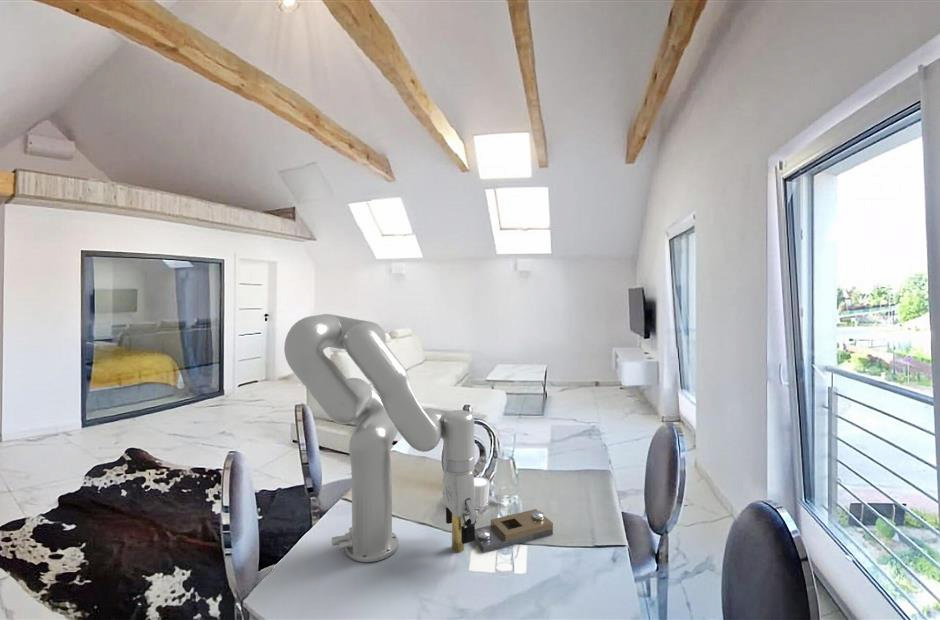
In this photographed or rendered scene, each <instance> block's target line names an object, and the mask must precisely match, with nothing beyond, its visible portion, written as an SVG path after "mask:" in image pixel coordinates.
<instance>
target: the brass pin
mask: <svg viewBox="0 0 940 620" xmlns="http://www.w3.org/2000/svg"><path fill="white" fill-rule="evenodd" d="M463 513H465V511H464V512H463ZM462 526H463V524H462V520H461V516H459V517H456V516H454V515H453V513H452V523H451V550H452V552H454V553H457V554H458V553H462V552H463V551H464V550H465V544H463V543H462V541H461V527H462Z"/></svg>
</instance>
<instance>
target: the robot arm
mask: <svg viewBox="0 0 940 620" xmlns="http://www.w3.org/2000/svg"><path fill="white" fill-rule="evenodd" d="M386 340H387V337H386V332H385V330H384V329H383V328H382V327H381V325H379V324H378V323H376V322H373V321H368V320H365V319H364V320H363V319H358V318H357V319H356V318H352V317H346V316H341V315H337V314H331V313H330V314H329V313H323V314H322V313H321V314H317V315H310V316H306V317H303V318H301V319H299V320H297V321H296V322H294V324H292V325H291V327H290V329H289V330H288V332H287V333H286V337H285V341H284V346H283V347H284V355H285V360H286V362H287V364H288V366H289V368H290V370H291V371H292V372H293V374H295V376H296V377H297V378H298V380H299V381H300V382H301V384H303V385H304V386H305V388H306V389H307V391H309V393H310V394H311V396H312V397H313V399H315V401H316V402H317V404H318V405H319V406H320V407H321V408H322V409H323V411H324V412H325V414H326V415H327V416H328V417H329V418H330V419H331V420H332V422H334V423H336V424H338V425H348V424H351V423H354V425H355V426H356V427H355V428H354V429H353V432H352V433H351V435H350V439H349V443H348V453H349V454H348V455H349V461H350V468H351V469H350V470H351V527H349V528H348V532H345V533H344V534H343V535H336V536H332V537H331V546H332V547H335V546H338V550H343V549H345V553H346V556H347V557H348V558H350V559H352V560H353V561H357V562H361V563H373V562H378V561H382V560H384V559H387V558H389V557H390V556H392V555H393V554H394V553H396V551H397V549H398V546H399V538H398V535H396V534H395V533H394V532H392V531H393V482H392V480H393V477H392V476H393V472H392V470H393V469H392V460H391V450H392V445H393V442H394V440H395V439H396V437H397V434H398V432H399V434H400V435H401V436H402V437H403V439H404V441H406V443H408V445H409V446H410V447H411V448H413V449H414V450H416V451H418V452H423V453H426V452H431V451H432V450H434V449H435V448H436V447H438V445H439V443H440V441H441V439H442V440H443V441H442V443H443V445H442V446H443V448H442V449H443V476H442V501H443V504H444V505H445V523H446V524H447V525H449V524H452V513H453V515H454V516H456V517H459V516H461V520H462V524H463V526H462V527H461V541H462V543H463V544H464V545H465V544H469V543H473V542H474V541H475V529H476V527H475V526H476V525H477V518H478V514H477V511H476V509H475V487H474V477H475V476H474V471H475V468H476V465H475V464H476V462H475V461H476V460H475V458H476V457H475V456H476V455H475V450H476V449H475V417H474V415H473V413H472V412H471V411H467V410H463V409H456V410H455V409H454V410H444V409H443V410H442V409H437V408H429V407H428V408H422V406H421V405H420V403H419V402H418V399H416V397H415V394H414V392H413V389H412V387H411V382H410V377H409V374H408V372H407V370H406V368H405V366H404V365H403V364H402V363H401V362H400V360H399V359H398V358H397V356H396V355H395V354H394V352H393V351H392V349H390V347H389V346H388V344H387V343H386ZM327 348H334V349H339V350H344V351H345V352H346V353H347V355H348V356H349V358H350V359H351V360H352V361H353V362H354V364H355V366H357V368H358V369H359V370H360V372H361V373H362V374H363V375H364V376H365V378H366V379H367V381H368V382H369V383H370V384H371V385H370V384H369V383H368V382H367V381H365V380H364V379H362V378H358V377H350V378H348V377H346V375H345V374H344V373H343V371H341V369H339V367H338V366H337V364H336V363H335V362H334V361H333V360H331V359H330V358H329V357H328V356H327V355H326V354H325V352H324V350H325V349H327ZM465 511H466V512H465ZM463 512H464V513H463ZM467 516H468V517H469V518H467V520H466V517H467Z"/></svg>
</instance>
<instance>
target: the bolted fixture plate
mask: <svg viewBox="0 0 940 620" xmlns="http://www.w3.org/2000/svg"><path fill="white" fill-rule="evenodd" d="M553 531H554V522H553V521H551V520H550V519H549V518H548V517H546V516H545V513H544V512H543V511H541V510H538V509H536V508H535V509H531V510H526V511H522V512H517V513H514V514H509V515H504V516H501V517H497V518H496V517H495V518H492V519H490V525H486V526H481V527H477V528H475V541H473V542H474V543H475V544H476V545H477V547H478V548H479V549H480V550H481V552H483V554H484V553H488V552H492V551H496V550H500V549H503V548H508V547H510V546H513V545H518V544H522V543H526V542H529V541H533V540H537V539H540V538H544V537H549V536H551V535H554V533H553Z"/></svg>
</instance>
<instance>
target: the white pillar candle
mask: <svg viewBox="0 0 940 620" xmlns="http://www.w3.org/2000/svg"><path fill="white" fill-rule="evenodd" d="M473 477H474V487H475V506H476V507H483V506H486V505H487V506H488V504H489V502H488V501H489V493H490V492H489V491H490V485H491V483H490V480H489V479H487V478H485V477H482V476H481V477H480V476H476V477H475V476H473ZM487 503H488V504H487Z"/></svg>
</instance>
